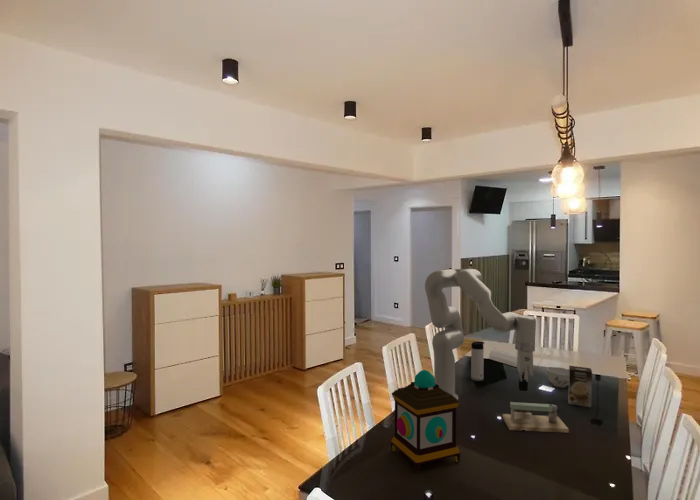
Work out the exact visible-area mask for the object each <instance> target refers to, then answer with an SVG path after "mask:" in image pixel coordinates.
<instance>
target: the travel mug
mask: <svg viewBox="0 0 700 500" xmlns="http://www.w3.org/2000/svg"><path fill="white" fill-rule="evenodd" d="M484 344H485V341H473V342H471V347H470V348H471V352H470V353H471V355H470V356H471V357H470V359H471V361H470V372H471V373H470V376H471V377H470V379H471V380H472V381H474V382H481V381H484V364H485V363H484V360H485V359H484V357H485V356H484V354H485V353H484V349H485V348H484Z"/></svg>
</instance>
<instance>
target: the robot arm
mask: <svg viewBox="0 0 700 500" xmlns="http://www.w3.org/2000/svg"><path fill="white" fill-rule="evenodd" d="M425 279H426V280H425V281H424V282H425V283H424V289H425V295H426V299H427V302H428V309H429V315H430V320H431V323H432V325H433V327H435V328H437V329H444V330H441V331H438V332H436V333H435V334H434V335H433V337H432V341H431V343H432V349H433V361H434V362H433V363H434V364H433V365H434V366H433V368H434V369H433V371H434V372H433V374H434V375H433V376H434V378H435V384H437V385H439V388H441V389H442V390H444V391H446V392H448V393H449V394H451V395H453V397H455V398H456V399H457V400H458V401H459V395H458V394H457V393H456V358H455V354H454V350H455V349H457V348H460V347H461V346H462V345H463V344H464V341H465V335H464V334H465V333H464V329H463V324H462V317H461V314H460V312H459V310H458V309H457V308H456V307H454V306H453V305H448V303H447V297H446V295H445V293H444V291H443V289H446V288H452V287H453V288H455V287H459V288H460V289H461V290H462V292H464V293H465V294H466V295H467V296H468V298H470V299H471V301H472V302H474V303H475V305H476V307H477V310H478V311H479V314H480V315H481V318H482V319H483V320H484V321H485V322H486V323H487V324H488V325H489V326H490V328H492V329H493V330H494V331H496V332H498V333H501V334H502V333H503V334H504V333H508V332H510V331H514V330H515V343H514V344H515V345H514V349H515V350H516V351H517V352H516V354H517V367H516V369H517V371H518V373H519V375H518V377H519V380H518V390H519V391H520V392H521V391H523V392H527V391H528V386H529V376H530V377H533V376H534V353H533V352H535V351H536V333H537V331H536V329H537V318H536V317H534V316H532V315H526V314H520V313H517V312H513V311H507V312H504V313H502V312H501V311H500V310H499V309H498V308H497V307H496V306H495V304H494V303H493V301H492V290H491V289H490V288H488V287H487V286H486V285H485V283H483V275H482V273H481V272H480V271H479V270H478V269H475V268H449V269H438V270H435V271H433V272H431V273H429V275H428V276H427V277H426V278H425Z"/></svg>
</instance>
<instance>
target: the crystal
mask: <svg viewBox="0 0 700 500" xmlns="http://www.w3.org/2000/svg"><path fill="white" fill-rule="evenodd" d="M489 359H490V360H492V361H495V362H498V363H502V364H505V365H509V366H512V367H515V368H517V353H514V352H510V351H508V350H507V351H506V350H503V349H500V348H497V347H493V348H492V349H491V350H490V352H489Z"/></svg>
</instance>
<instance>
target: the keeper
mask: <svg viewBox="0 0 700 500" xmlns="http://www.w3.org/2000/svg"><path fill="white" fill-rule="evenodd" d="M509 408H510V410H511V409H517V410H529V411H536V412H549V411H550V412H557V413H558V406H557V405H556V404H551V403H550V404H549V403H536V402H535V403H534V402H533V403H529V402H517V401H516V402H515V401H509Z"/></svg>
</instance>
